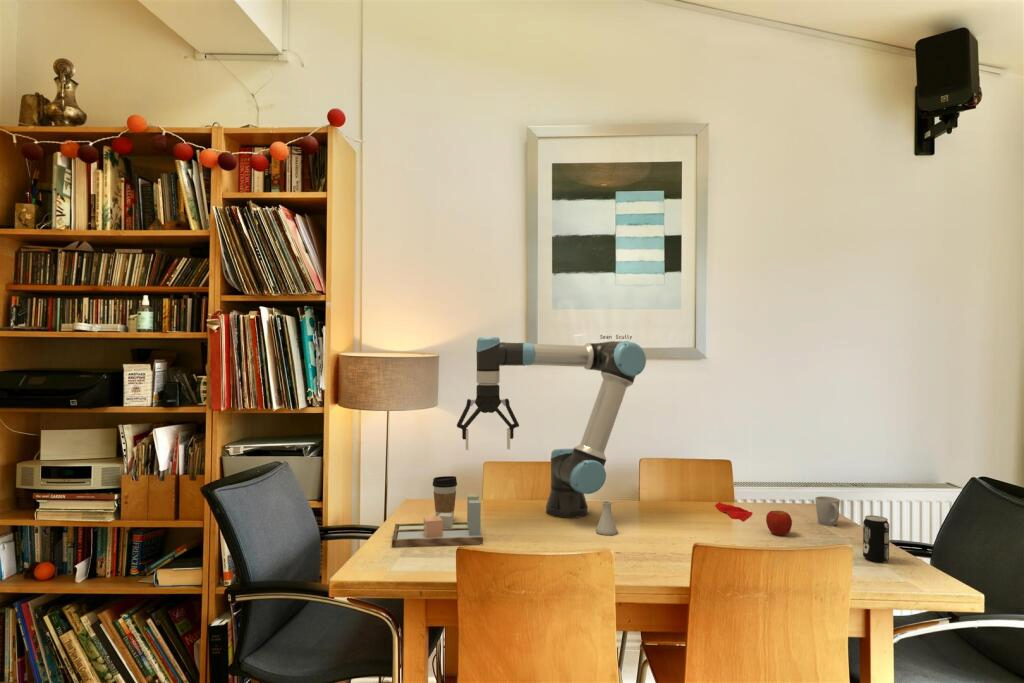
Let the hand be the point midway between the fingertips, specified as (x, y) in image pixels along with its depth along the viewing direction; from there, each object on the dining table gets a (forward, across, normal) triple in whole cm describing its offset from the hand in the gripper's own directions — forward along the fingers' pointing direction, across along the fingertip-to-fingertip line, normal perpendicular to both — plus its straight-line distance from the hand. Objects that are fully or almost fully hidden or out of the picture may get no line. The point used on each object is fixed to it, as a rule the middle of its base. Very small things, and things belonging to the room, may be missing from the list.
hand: (487, 449), depth 222 cm
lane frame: (+26, +16, +7) cm, 32 cm away
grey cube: (+24, +14, +2) cm, 28 cm away
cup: (+27, -116, +3) cm, 119 cm away
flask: (+27, -38, +6) cm, 47 cm away
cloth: (+28, -91, -16) cm, 96 cm away
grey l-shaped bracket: (+26, +16, +2) cm, 31 cm away
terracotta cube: (+24, +18, +10) cm, 32 cm away
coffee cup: (+27, +14, -13) cm, 33 cm away
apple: (+27, -93, +12) cm, 98 cm away
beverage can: (+27, -108, +39) cm, 119 cm away
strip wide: (+26, +16, +10) cm, 32 cm away
